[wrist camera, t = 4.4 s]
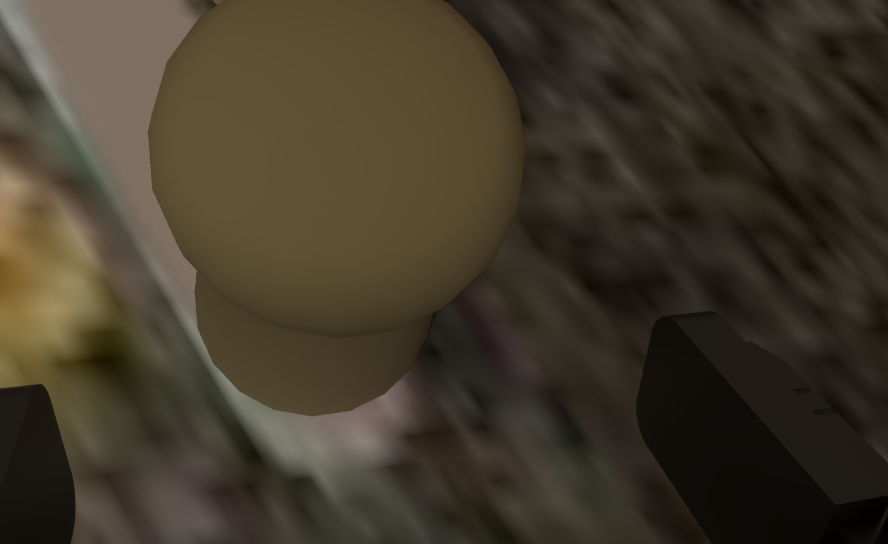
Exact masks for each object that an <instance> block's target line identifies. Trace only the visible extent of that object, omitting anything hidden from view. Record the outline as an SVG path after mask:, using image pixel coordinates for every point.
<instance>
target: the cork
mask: <svg viewBox="0 0 888 544" xmlns="http://www.w3.org/2000/svg"><path fill="white" fill-rule="evenodd" d="M148 137H149V151H150V164H151V177H152V190H153V192H154V194H155V196H156V198H157V201H158V203H159V205H160V207H161V209H162V212H163V214H164V216H165V218H166V220H167V223H168V225H169V227H170V229H171V231H172V234H173V236H174V238H175V240H176V243H177V245H178V247H179V248H180V250H181V252H182V254H183V256H184V257H185V258H186V259H187V260H188V261H189V262H190V263H191V264H192V265H193V267H194V268H195V269H196V270H197V276H196V285H195V301H196V313H197V324H198V330H199V333H200V335H201V337H202V339H203V341H204V344H205V346H206V348H207V350H208V353H209V355H210V357H211V359H212V361H213V364H214V365H215V366H216V367H217V368H218V369H219V370H220V371H221V372H222V373H223V374H224V375H225V376H226V377H227V378H228V379H229V381H230V382H231V383H232V384H233V385H234V386H235V387H236V388H237V389H238V390H239V391H240V392H242V393H244V394H246V395H247V396H249V397H251V398H253V399H255V400H257V401H259V402H261V403H262V404H264V405H266V406H268V407H270V408H272V409H274V410H279V411H285V412H291V413H296V414H302V415H308V416H317V415H324V414H331V413H338V412H345V411H351V410H353V409H355V408H357V407H359V406H361V405H363V404H365V403H367V402H369V401H371V400H373V399H375V398H377V397H379V396H381V395H383V394H385V393H386V392H387V391H388V390H389V389H390V388H391V387H392V386H393V385H394V384H395V383H396V382H397V381H398V380H399V379H400V378H401V377H402V376H403V375H404V374H405V373H406V372H407V371H408V370H409V369H410V368H411V366H412V364H413V363H414V361H415V359H416V357H417V355H418V353H419V351H420V349H421V347H422V345H423V343H424V341H425V339H426V338H427V335H428V331H429V327H430V323H431V319H432V316H433V313H434V312H436V311H438V310H440V309H442V308H444V307H445V306H446V305H447V304H448V303H449V302H451V301H452V300H453V299H454V298H455V297H456V296H457V295H458V294H459V293H460V292H461V291H462V290H463V289H464V288H465V287H466V286H467V285H468V284H469V283H470V282H471V281H472V280H473V279H475V278H476V277H477V276H478V275H479V274H480V273H481V272H482V271H483V270H484V269H485V268H486V267H487V266H488V265H489V264H490V263H491V262H492V261H493V260H494V258H495V256H496V254H497V252H498V250H499V248H500V246H501V244H502V242H503V240H504V238H505V236H506V234H507V232H508V230H509V228H510V226H511V224H512V222H513V220H514V218H515V216H516V214H517V210H518V204H519V198H520V191H521V183H522V176H523V168H524V161H525V153H526V141H525V135H524V130H523V125H522V120H521V115H520V110H519V104H518V99H517V95H516V93H515V91H514V89H513V87H512V85H511V84H510V82H509V80H508V78H507V76H506V74H505V72H504V71H503V69H502V67H501V65H500V63H499V61H498V60H497V58H496V56H495V54H494V52H493V50H492V49H491V47H490V46H489V45H488V43H487V42H486V41H485V39H484V38H483V37H482V36H481V35H480V34H479V33H478V32H477V31H476V30H475V29H474V28H473V27H472V26H471V25H470V24H469V23H468V22H467V21H466V20H465V19H464V18H463V17H462V16H461V15H460V14H459V13H458V12H457V11H456V10H455V9H454V8H453V7H452V6H451V5H450V4H449V3H447V2H445V1H443V0H224V1H223V2H221V3H220V4H219V5H217V6H216V7H214V8H213V9H211V10H210V11H208V12H207V13H205V14H204V15H203V16H201V17H200V18H199V19H198V20H197V22H196V23H195V24H194V26H193V27H192V28H191V30H190V31H189V33H188V34H187V35H186V37H185V38H184V39H183V41H182V42H181V43H180V45H179V46H178V48H177V49H176V51H175V52H174V53H173V54H172V56H171V57H170V58H169V60H168V61H167V64H166V67H165V71H164V74H163V78H162V81H161V84H160V88H159V92H158V95H157V98H156V103H155V105H154V109H153V112H152V116H151V121H150V125H149V130H148Z"/></svg>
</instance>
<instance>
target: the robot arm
mask: <svg viewBox="0 0 888 544" xmlns="http://www.w3.org/2000/svg"><path fill="white" fill-rule="evenodd" d="M636 413H637V421H638V425H639V429H640V432H641V435H642V437H643V439H644V442H645V443H646V445H647V446H648V448H649V450H650V451H651V453H652V454H653V456H654V457H655V459H656V460H657V462H658V463H659V465H660V466H661V468H662V469H663V471H664V472H665V474H666V475H667V477H668V478H669V480H670V481H671V483H672V484H673V486H674V487H675V489H676V490H677V492H678V493H679V495H680V496H681V498H682V499H683V501H684V502H685V504H686V505H687V507H688V508H689V510H690V511H691V513H692V515H693V516H694V518H695V519H696V521H697V522H698V524H699V525H700V527H701V528H702V530H703V531H704V533H705V534H706V536H707V537H708V539H709V540H710V542H711V543H712V544H888V463H887V462H886V461H885V460H884V459H883V458H882V457H881V456H880V455H879V454H878V453H877V452H876V451H875V450H874V449H873V448H872V447H871V446H870V445H869V444H868V443H867V442H866V441H865V440H864V439H863V438H862V437H861V436H860V435H859V434H858V433H857V432H856V431H855V430H854V429H853V428H852V427H851V426H850V425H849V424H848V423H847V422H846V421H845V420H844V419H843V418H842V417H841V416H840V415H839V414H838V413H835V414H833V412H832V407H831V406H830V405H829V404H828V403H827V402H826V401H825V400H824V399H823V398H822V397H821V396H820V395H819V394H818V393H817V392H812V391H811V386H810V385H809V384H808V383H807V382H806V381H804V380H803V379H802V378H801V377H800V376H799V375H798V374H797V373H796V372H795V371H794V370H793V369H792V368H791V367H790V366H789V365H788V364H787V363H786V362H785V361H783V360H782V359H780V358H778V357H776V356H775V355H773V354H771V353H770V352H768V351H766V350H764V349H763V348H761V347H759V346H758V345H756V344H754V343H752V342H745V341H744V340H743V339H742V338H741V337H740V336H739V335H738V334H737V333H736V332H735V331H734V330H733V329H732V328H731V327H730V326H729V325H728V324H727V323H726V322H725V320H724V319H723V318H722V317H720V316H719V315H718V314H717V313H715V312H711V311H707V312H698V313H689V314H680V315H671V316H663V317H660V318H659V319H658V320H657V321H656V322H655V324H654V326H653V329H652V333H651V337H650V342H649V347H648V351H647V356H646V360H645V365H644V369H643V374H642V378H641V383H640V388H639V392H638V397H637V404H636ZM74 523H75V489H74V482H73V477H72V473H71V469H70V466H69V462H68V459H67V455H66V452H65V448H64V445H63V442H62V438H61V435H60V431H59V428H58V424H57V421H56V417H55V414H54V410H53V407H52V403H51V400H50V397H49V394H48V392H47V390H46V388H45V387H44V386H43V385H41V384H36V385H27V386H18V387H9V388H0V544H71V539H72V534H73V529H74Z"/></svg>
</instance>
